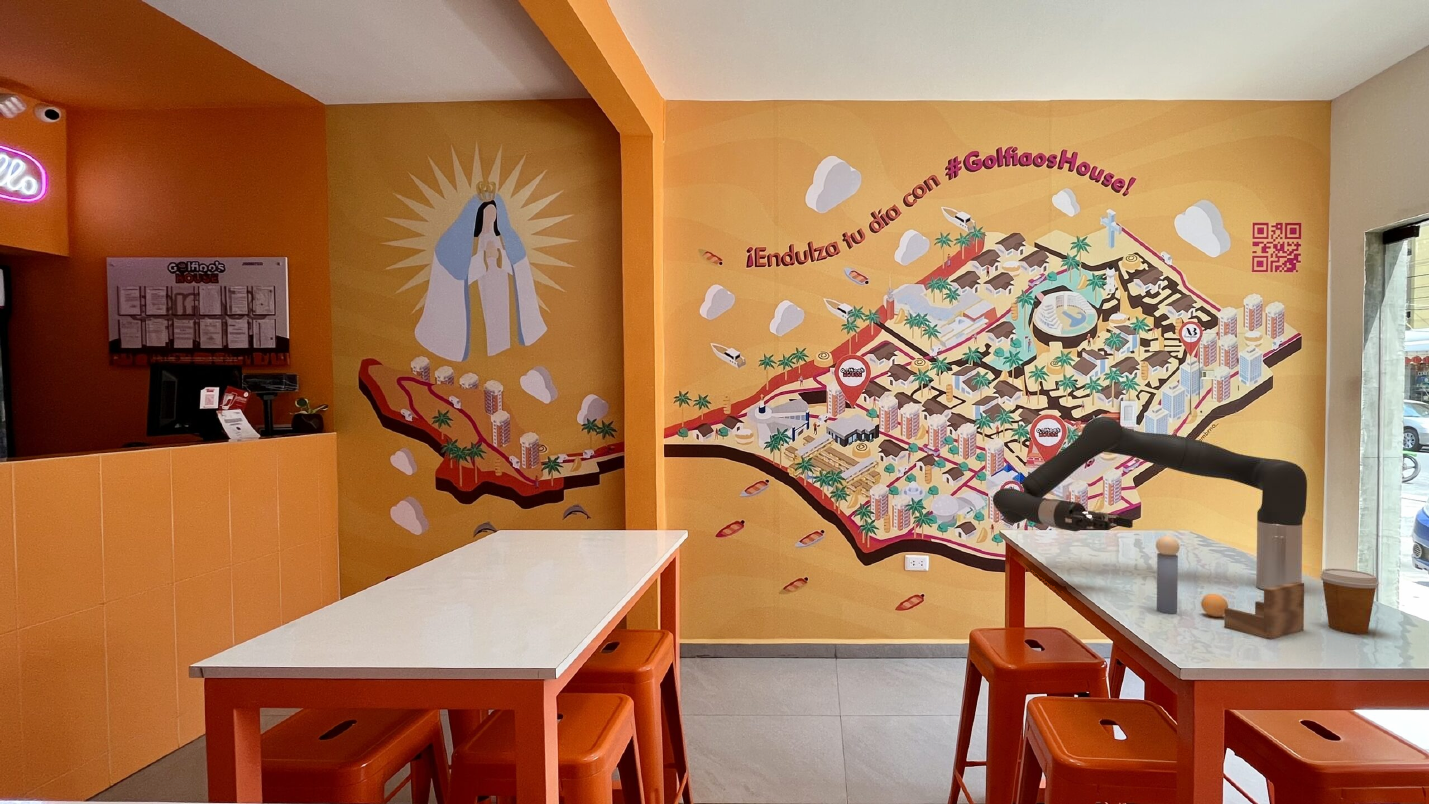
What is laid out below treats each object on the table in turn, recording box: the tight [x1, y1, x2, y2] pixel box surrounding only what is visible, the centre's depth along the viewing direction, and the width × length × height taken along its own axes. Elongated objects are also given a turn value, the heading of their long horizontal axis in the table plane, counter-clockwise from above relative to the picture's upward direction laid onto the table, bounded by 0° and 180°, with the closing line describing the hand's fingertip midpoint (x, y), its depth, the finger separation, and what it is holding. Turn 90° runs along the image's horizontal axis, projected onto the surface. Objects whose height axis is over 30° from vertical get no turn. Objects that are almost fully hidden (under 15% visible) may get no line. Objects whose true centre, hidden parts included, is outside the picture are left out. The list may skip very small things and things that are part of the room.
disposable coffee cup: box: [1319, 567, 1380, 635], centre depth 155 cm, size 10×10×12 cm
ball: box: [1200, 593, 1229, 618], centre depth 163 cm, size 5×5×5 cm
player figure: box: [1155, 535, 1180, 615], centre depth 167 cm, size 5×5×17 cm
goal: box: [1223, 582, 1305, 640], centre depth 155 cm, size 13×9×10 cm, turn 117°
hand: (1120, 524), depth 177 cm, fingers open, 8 cm apart
